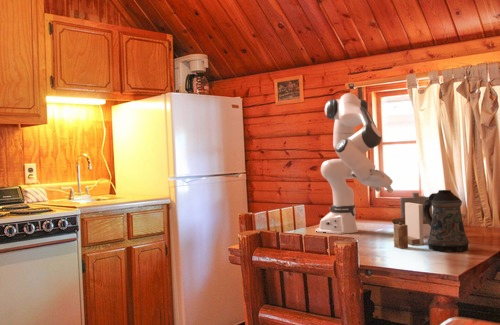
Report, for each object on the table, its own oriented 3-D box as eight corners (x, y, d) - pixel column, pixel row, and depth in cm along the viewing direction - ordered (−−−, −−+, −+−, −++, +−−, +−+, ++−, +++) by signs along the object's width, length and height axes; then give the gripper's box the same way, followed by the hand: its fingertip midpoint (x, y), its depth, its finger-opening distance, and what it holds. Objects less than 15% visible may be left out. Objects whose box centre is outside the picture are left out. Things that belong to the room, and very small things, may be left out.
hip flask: (401, 231, 263) (400, 193, 262) (400, 229, 267) (399, 192, 266) (433, 230, 261) (432, 192, 260) (431, 229, 265) (430, 191, 264)
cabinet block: (399, 248, 217) (398, 223, 217) (393, 247, 221) (392, 222, 221) (408, 247, 218) (407, 222, 218) (402, 246, 222) (401, 221, 222)
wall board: (398, 241, 233) (397, 203, 233) (409, 240, 235) (408, 202, 235) (412, 245, 223) (411, 205, 223) (423, 244, 225) (422, 204, 225)
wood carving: (468, 237, 239) (467, 214, 239) (392, 236, 248) (391, 214, 247) (465, 234, 248) (464, 211, 247) (392, 233, 256) (391, 211, 256)
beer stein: (465, 254, 202) (464, 192, 202) (416, 250, 212) (415, 191, 212) (471, 246, 216) (470, 189, 216) (425, 243, 226) (424, 188, 226)
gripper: (382, 164, 207) (403, 186, 210) (357, 164, 226) (376, 184, 229) (373, 175, 205) (394, 198, 209) (348, 174, 225) (368, 195, 228)
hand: (385, 191), depth 219 cm, fingers open, 8 cm apart
